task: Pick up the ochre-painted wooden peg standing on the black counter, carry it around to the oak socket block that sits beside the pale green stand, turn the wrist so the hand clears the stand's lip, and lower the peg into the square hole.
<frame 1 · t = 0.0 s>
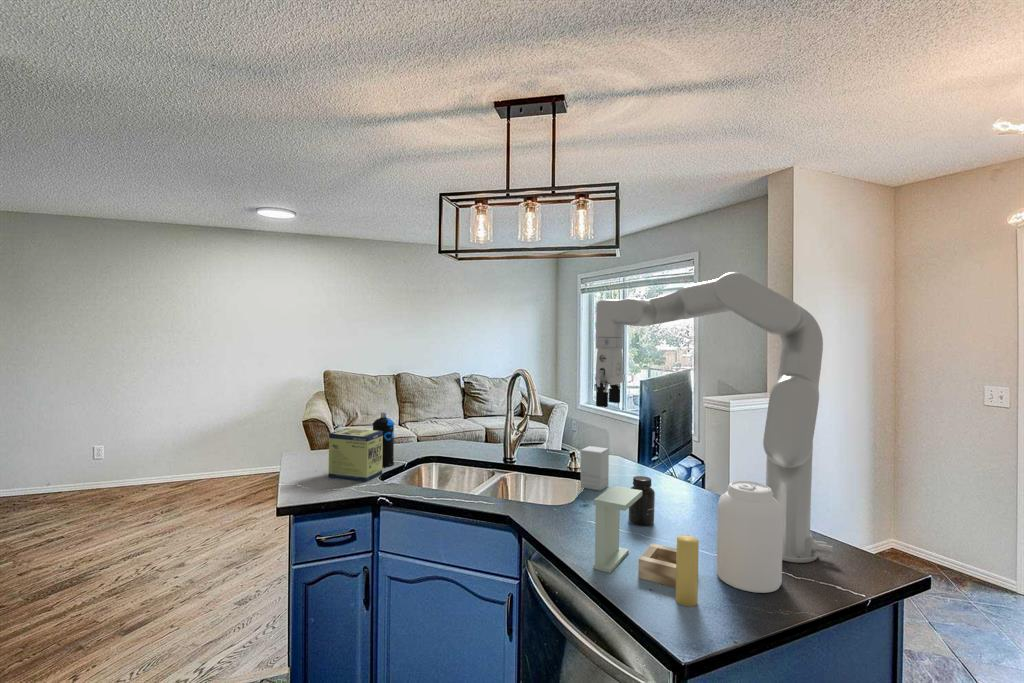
hand: (608, 404, 145), 31 cm above the worktop, fingers open, 9 cm apart
supplement box: (594, 487, 172), on the worktop
can: (747, 580, 109), on the worktop
socket block: (667, 574, 111), on the worktop
supplement bottle: (641, 522, 141), on the worktop
pale green stand: (618, 528, 116), on the worktop
peg: (686, 601, 100), on the worktop
black bottle: (383, 465, 197), on the worktop
protein box: (355, 476, 181), on the worktop
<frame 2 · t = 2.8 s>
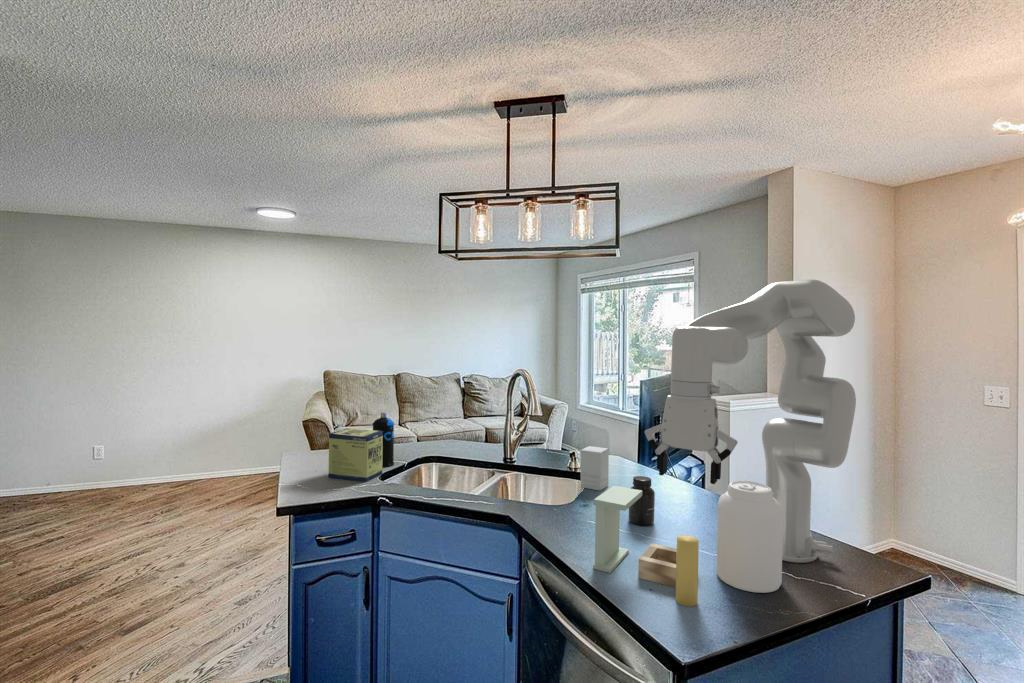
hand: (687, 478, 101), 23 cm above the worktop, fingers open, 9 cm apart
nothing on the worktop moved.
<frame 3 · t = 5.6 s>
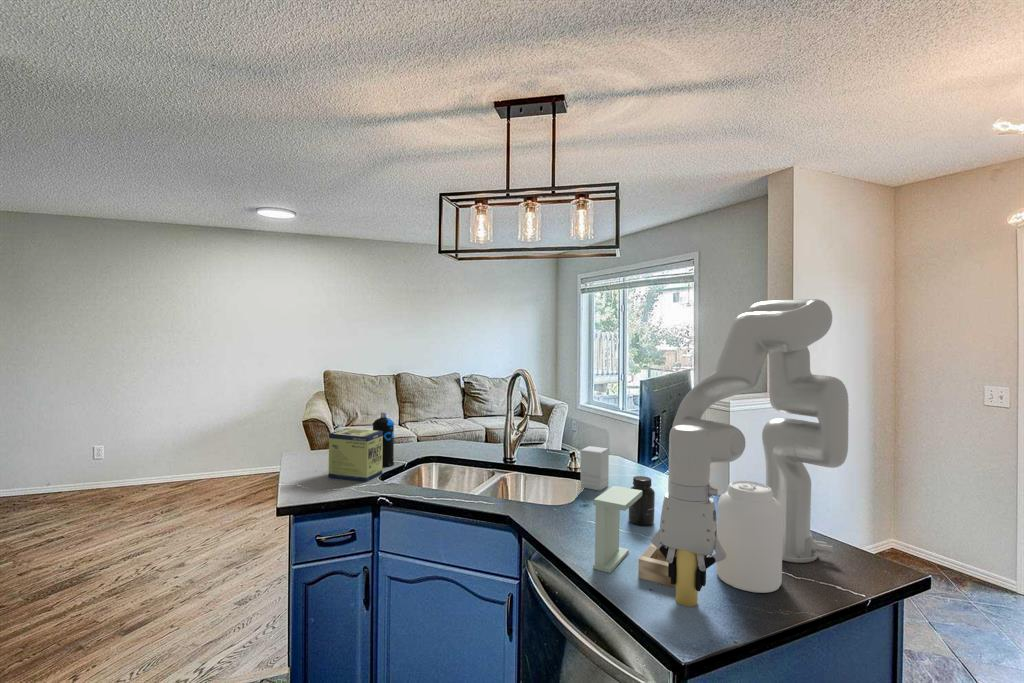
hand: (686, 584, 100), 3 cm above the worktop, fingers closed on peg, 4 cm apart
peg: (686, 601, 100), on the worktop, touching gripper
everything else where it was.
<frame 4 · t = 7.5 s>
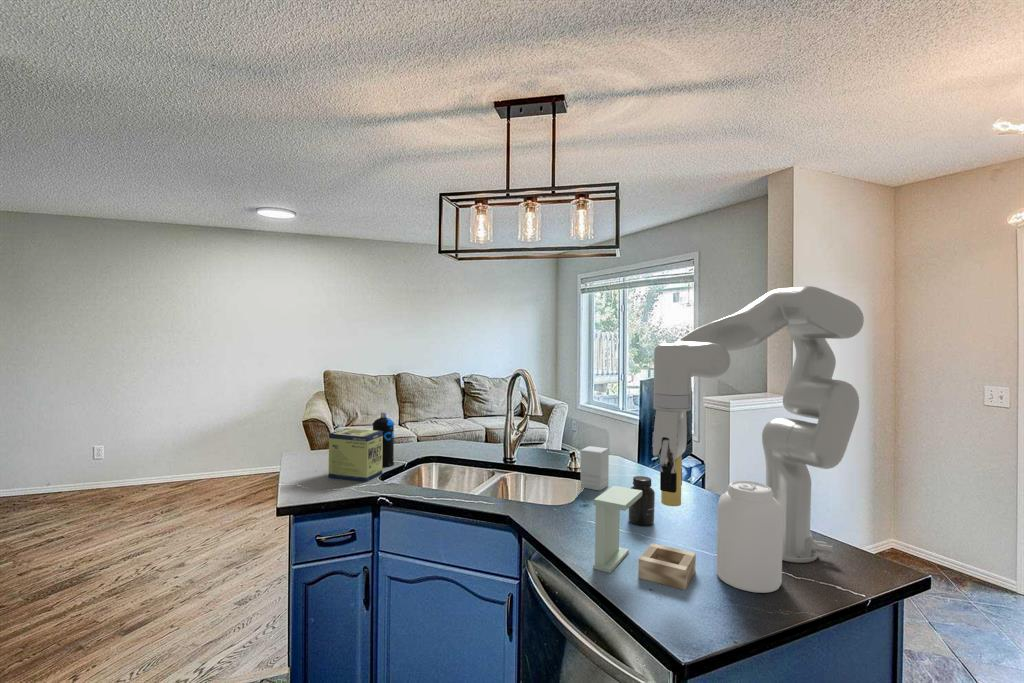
hand: (671, 487, 109), 19 cm above the worktop, fingers closed on peg, 4 cm apart
peg: (671, 503, 109), point 16 cm above the worktop, touching gripper
everything else where it was.
when the fingers open (5 cm above the worktop, at t = 9.8 s): peg drops 2 cm, resting in socket block.
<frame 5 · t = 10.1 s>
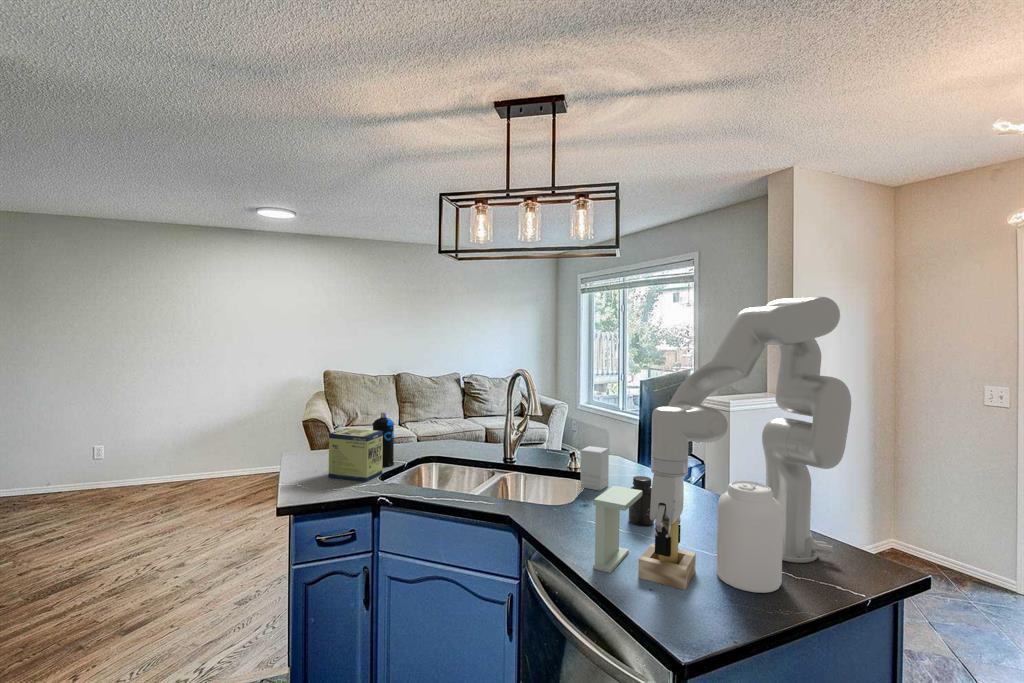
hand: (667, 547, 110), 6 cm above the worktop, fingers open, 7 cm apart
peg: (667, 574, 111), resting in socket block
everything else where it was.
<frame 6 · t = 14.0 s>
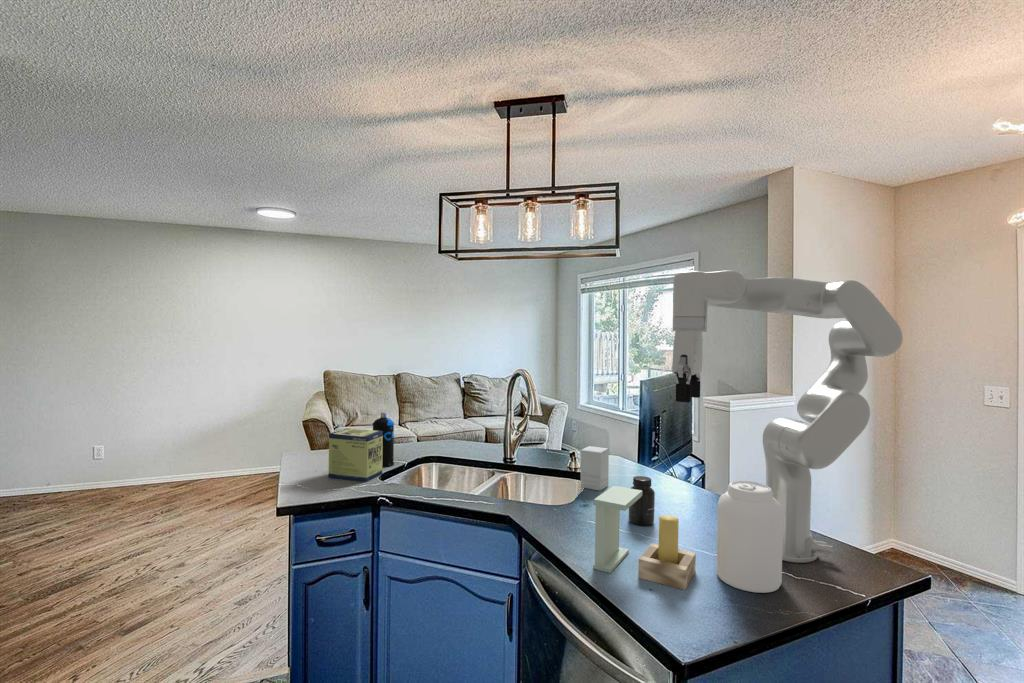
hand: (688, 399, 119), 36 cm above the worktop, fingers open, 9 cm apart
nothing on the worktop moved.
at the end: peg 0.2 cm off-centre on the socket block, point 0.0 cm above the socket block's base; peg tilted 0°; the gripper is holding nothing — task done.
